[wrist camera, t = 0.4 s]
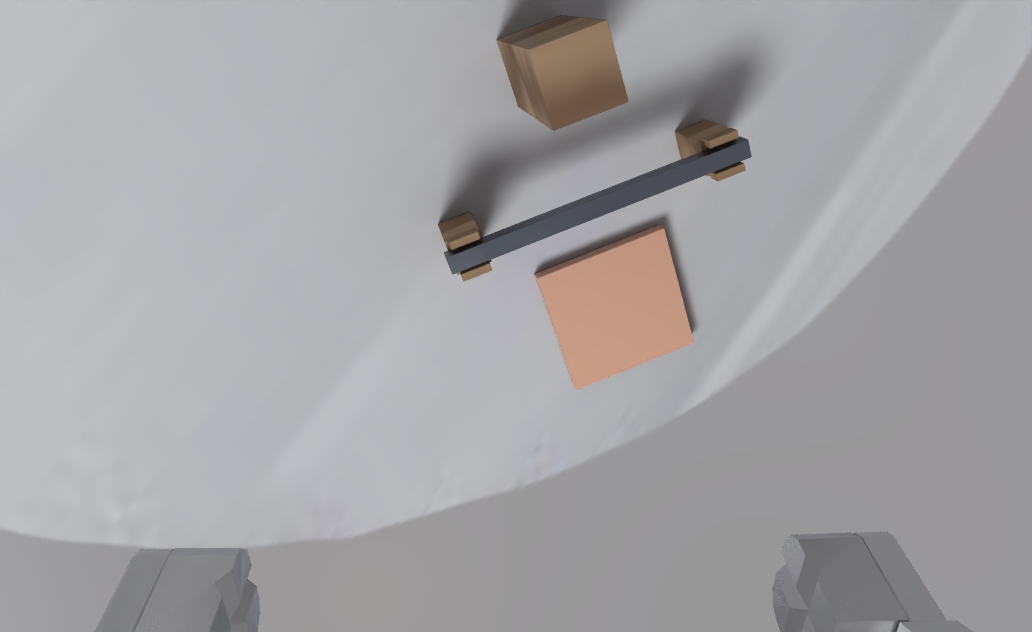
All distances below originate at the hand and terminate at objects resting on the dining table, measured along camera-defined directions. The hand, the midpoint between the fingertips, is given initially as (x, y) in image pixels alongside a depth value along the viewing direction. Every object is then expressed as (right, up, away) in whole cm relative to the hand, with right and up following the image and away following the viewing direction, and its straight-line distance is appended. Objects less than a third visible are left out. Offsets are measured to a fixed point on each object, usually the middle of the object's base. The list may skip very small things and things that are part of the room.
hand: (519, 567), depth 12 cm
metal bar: (+5, +11, +39) cm, 41 cm away
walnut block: (+1, +21, +39) cm, 44 cm away
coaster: (+8, +5, +47) cm, 48 cm away
